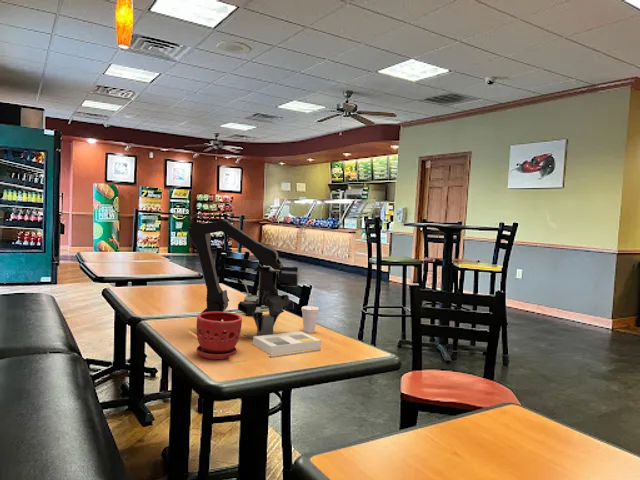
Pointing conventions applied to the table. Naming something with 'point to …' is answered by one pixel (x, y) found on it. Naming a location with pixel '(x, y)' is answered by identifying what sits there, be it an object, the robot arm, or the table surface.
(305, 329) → the smoothie
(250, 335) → the deck
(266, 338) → the socket block
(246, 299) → the mate gourd
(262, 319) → the plug
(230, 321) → the plant pot
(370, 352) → the table surface
